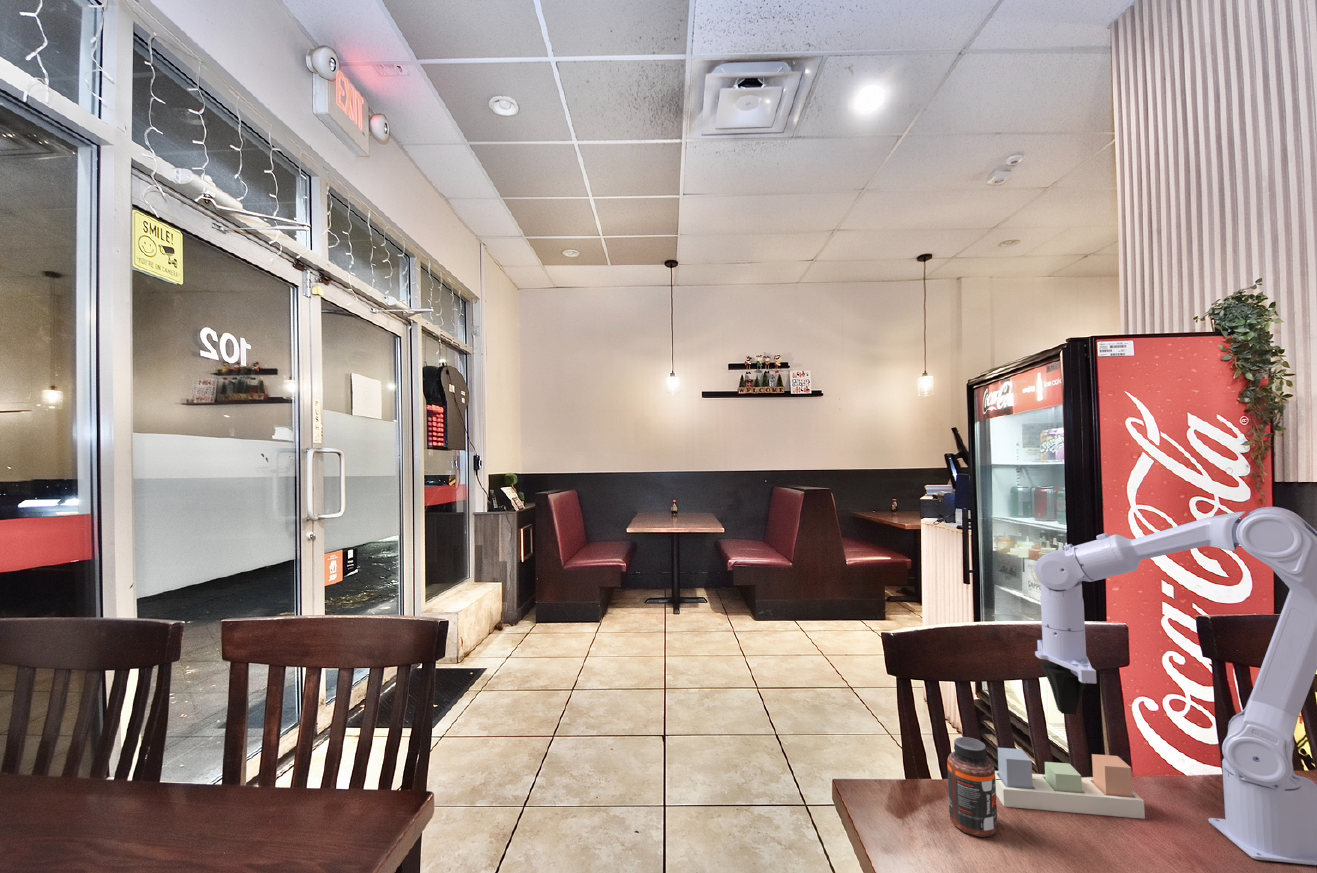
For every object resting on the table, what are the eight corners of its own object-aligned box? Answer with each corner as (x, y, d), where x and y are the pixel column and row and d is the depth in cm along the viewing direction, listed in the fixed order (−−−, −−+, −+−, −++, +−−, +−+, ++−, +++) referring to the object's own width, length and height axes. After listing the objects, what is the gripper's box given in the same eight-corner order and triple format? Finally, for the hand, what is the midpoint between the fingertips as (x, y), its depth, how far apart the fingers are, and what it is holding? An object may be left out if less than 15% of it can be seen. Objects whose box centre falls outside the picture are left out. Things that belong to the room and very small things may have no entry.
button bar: (1122, 797, 87) (1122, 780, 87) (1144, 818, 82) (1144, 800, 82) (990, 786, 90) (990, 770, 90) (1004, 806, 85) (1003, 789, 85)
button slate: (1023, 779, 89) (1021, 749, 89) (1032, 791, 85) (1031, 760, 85) (998, 777, 89) (997, 747, 89) (1007, 789, 86) (1006, 758, 86)
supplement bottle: (1004, 841, 77) (1001, 755, 78) (956, 836, 79) (953, 751, 79) (988, 814, 83) (985, 734, 84) (944, 810, 84) (941, 731, 85)
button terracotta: (1119, 786, 86) (1117, 756, 86) (1133, 800, 83) (1131, 767, 83) (1093, 784, 87) (1091, 754, 87) (1106, 797, 83) (1104, 766, 84)
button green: (1070, 794, 87) (1069, 763, 87) (1082, 807, 84) (1081, 775, 84) (1045, 791, 88) (1044, 761, 88) (1056, 805, 85) (1055, 773, 85)
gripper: (1016, 613, 101) (1020, 692, 100) (1057, 639, 87) (1061, 731, 86) (1061, 615, 100) (1065, 695, 99) (1110, 641, 85) (1115, 734, 85)
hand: (1067, 712), depth 92 cm, fingers closed
